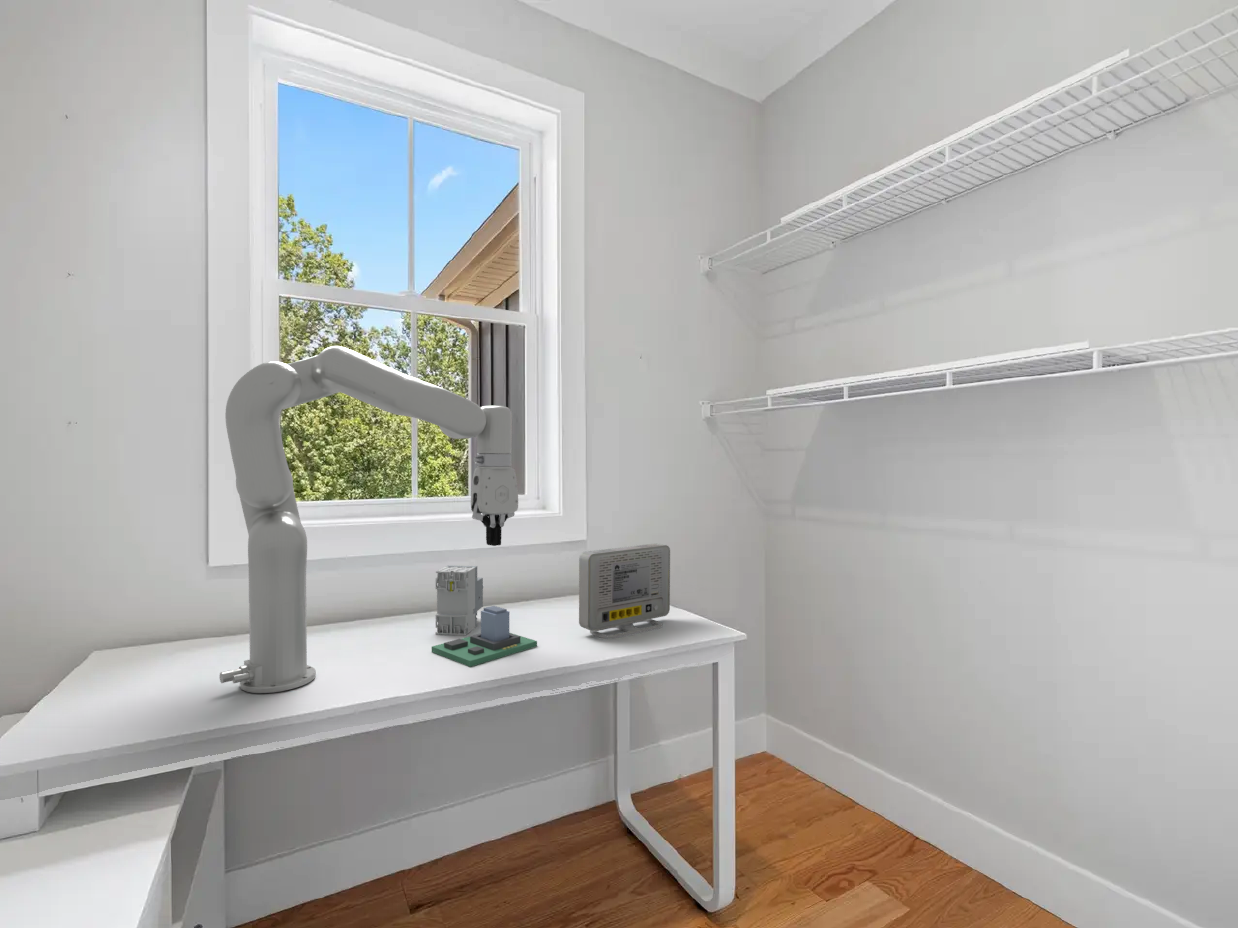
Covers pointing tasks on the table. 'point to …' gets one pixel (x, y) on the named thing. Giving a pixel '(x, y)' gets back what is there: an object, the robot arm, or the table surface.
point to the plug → (494, 623)
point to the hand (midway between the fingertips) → (493, 544)
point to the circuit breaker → (458, 599)
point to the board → (482, 648)
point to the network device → (624, 588)
